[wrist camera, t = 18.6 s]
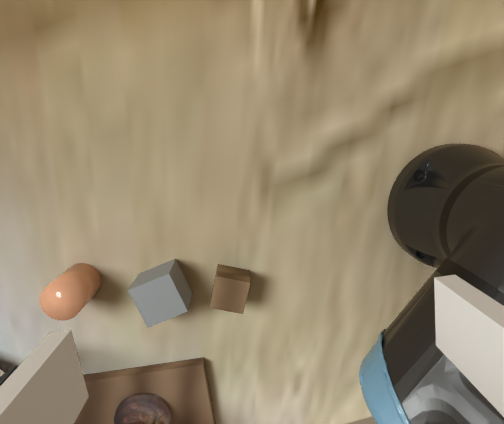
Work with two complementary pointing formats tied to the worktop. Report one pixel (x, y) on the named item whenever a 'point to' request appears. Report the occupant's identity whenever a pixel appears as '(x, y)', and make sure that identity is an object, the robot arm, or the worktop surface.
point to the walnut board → (151, 391)
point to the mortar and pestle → (142, 410)
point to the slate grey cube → (161, 293)
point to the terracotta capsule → (70, 291)
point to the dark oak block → (230, 289)
